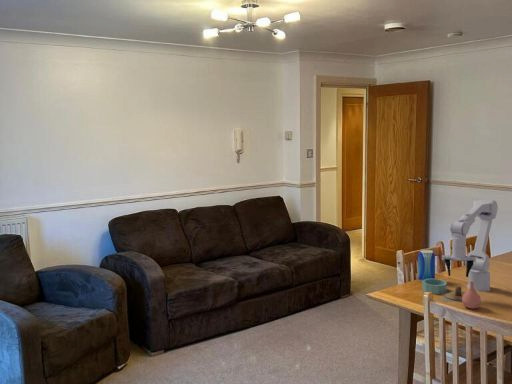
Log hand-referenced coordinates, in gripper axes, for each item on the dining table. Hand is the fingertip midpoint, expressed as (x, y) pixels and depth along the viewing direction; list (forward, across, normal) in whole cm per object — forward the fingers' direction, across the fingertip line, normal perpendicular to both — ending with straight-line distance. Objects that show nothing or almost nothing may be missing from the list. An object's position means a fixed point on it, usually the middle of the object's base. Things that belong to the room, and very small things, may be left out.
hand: (458, 275), depth 232 cm
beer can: (+10, -13, +23) cm, 28 cm away
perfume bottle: (+11, +4, -13) cm, 17 cm away
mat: (+10, 0, 0) cm, 11 cm away
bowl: (+10, -10, +8) cm, 16 cm away
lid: (+10, 0, 0) cm, 10 cm away
